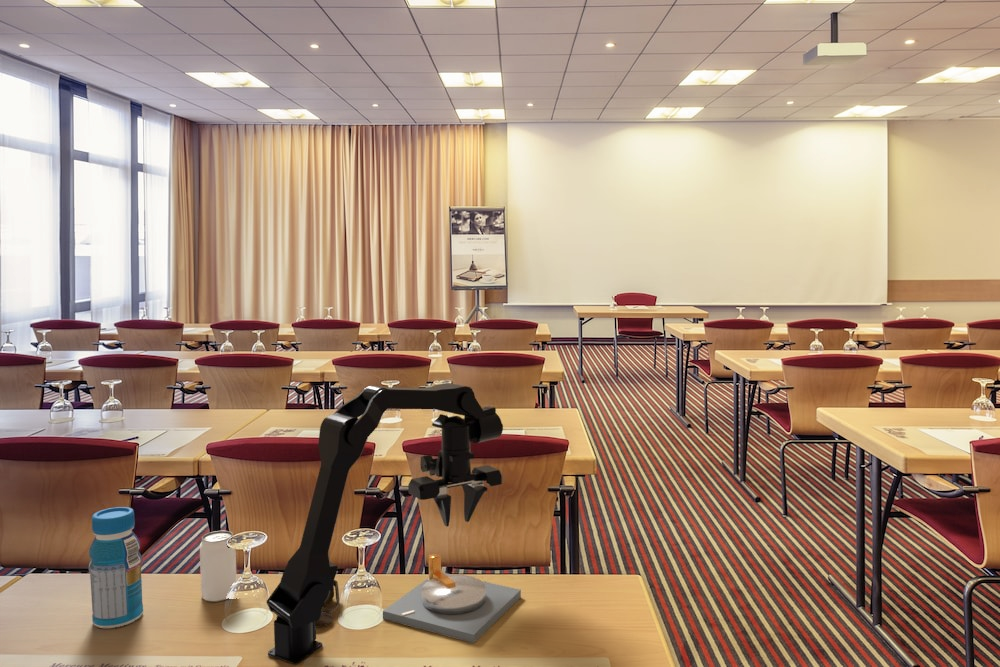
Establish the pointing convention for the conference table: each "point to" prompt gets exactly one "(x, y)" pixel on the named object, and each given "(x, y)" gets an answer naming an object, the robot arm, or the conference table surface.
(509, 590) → the dial plate
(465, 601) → the dial
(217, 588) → the can
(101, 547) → the beverage bottle
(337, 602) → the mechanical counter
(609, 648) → the conference table surface
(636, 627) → the conference table surface
